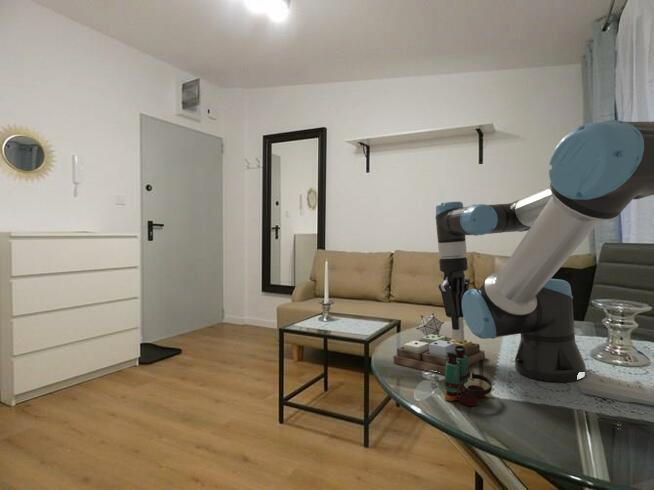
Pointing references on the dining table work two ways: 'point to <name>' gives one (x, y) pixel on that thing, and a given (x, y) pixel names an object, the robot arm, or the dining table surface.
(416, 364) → the wooden compartment tray
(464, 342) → the button four
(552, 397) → the dining table surface
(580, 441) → the dining table surface
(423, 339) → the button three
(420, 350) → the button one
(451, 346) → the button two
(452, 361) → the binoculars
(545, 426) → the dining table surface
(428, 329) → the game die
